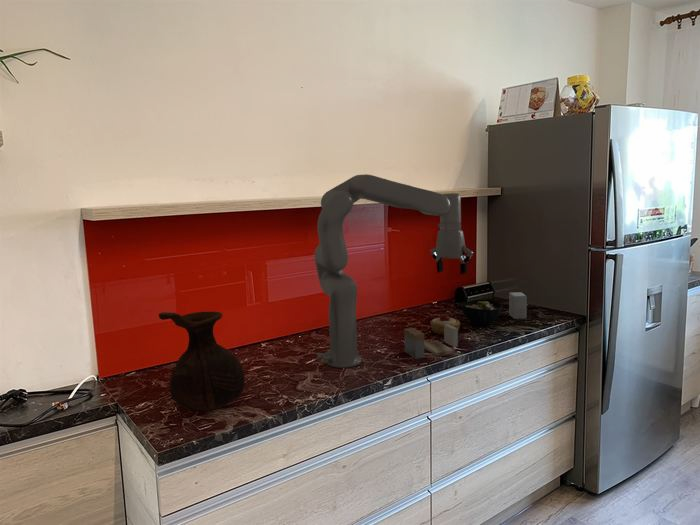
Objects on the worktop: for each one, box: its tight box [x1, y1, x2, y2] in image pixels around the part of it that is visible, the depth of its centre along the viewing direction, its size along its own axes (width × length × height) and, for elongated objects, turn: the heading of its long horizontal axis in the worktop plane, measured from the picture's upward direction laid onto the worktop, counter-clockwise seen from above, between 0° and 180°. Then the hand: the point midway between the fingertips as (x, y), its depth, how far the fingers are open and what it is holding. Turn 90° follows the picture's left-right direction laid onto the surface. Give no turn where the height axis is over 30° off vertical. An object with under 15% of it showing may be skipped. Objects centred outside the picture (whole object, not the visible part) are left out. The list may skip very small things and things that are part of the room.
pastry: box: [430, 310, 461, 336], centre depth 218 cm, size 12×12×9 cm
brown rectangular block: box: [403, 327, 426, 360], centre depth 192 cm, size 4×9×9 cm, turn 19°
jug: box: [158, 311, 246, 412], centre depth 153 cm, size 22×22×30 cm
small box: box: [508, 291, 528, 320], centre depth 238 cm, size 8×6×10 cm
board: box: [424, 340, 455, 357], centre depth 197 cm, size 7×13×1 cm, turn 19°
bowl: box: [460, 299, 503, 327], centre depth 228 cm, size 17×17×10 cm
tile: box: [443, 324, 459, 348], centre depth 202 cm, size 2×7×7 cm, turn 19°
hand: (451, 272), depth 197 cm, fingers open, 9 cm apart
